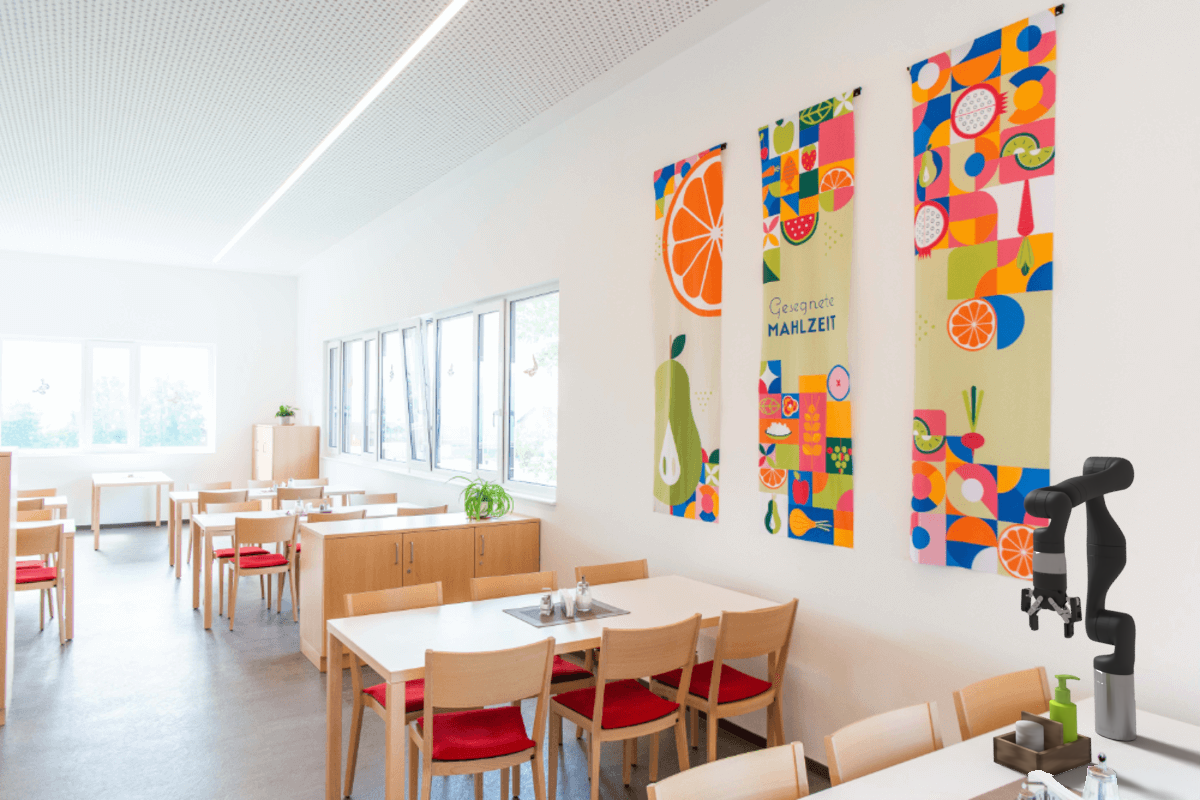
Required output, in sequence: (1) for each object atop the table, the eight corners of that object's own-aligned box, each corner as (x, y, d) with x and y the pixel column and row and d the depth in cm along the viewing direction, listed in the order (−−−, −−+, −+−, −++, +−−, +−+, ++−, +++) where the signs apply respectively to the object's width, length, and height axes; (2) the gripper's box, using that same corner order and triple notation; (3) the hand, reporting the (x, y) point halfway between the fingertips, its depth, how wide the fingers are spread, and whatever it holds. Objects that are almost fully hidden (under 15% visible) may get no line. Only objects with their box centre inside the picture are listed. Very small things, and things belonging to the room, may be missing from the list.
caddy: (993, 761, 191) (992, 716, 192) (1044, 745, 201) (1043, 702, 202) (1040, 780, 181) (1039, 733, 181) (1091, 762, 191) (1090, 717, 191)
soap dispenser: (1087, 761, 189) (1085, 679, 190) (1057, 760, 189) (1055, 678, 190) (1074, 752, 195) (1072, 672, 195) (1046, 751, 195) (1044, 671, 196)
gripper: (1086, 572, 191) (1088, 638, 190) (1031, 564, 203) (1032, 625, 203) (1069, 575, 187) (1071, 642, 187) (1013, 566, 200) (1015, 629, 199)
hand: (1051, 633), depth 195 cm, fingers open, 8 cm apart
